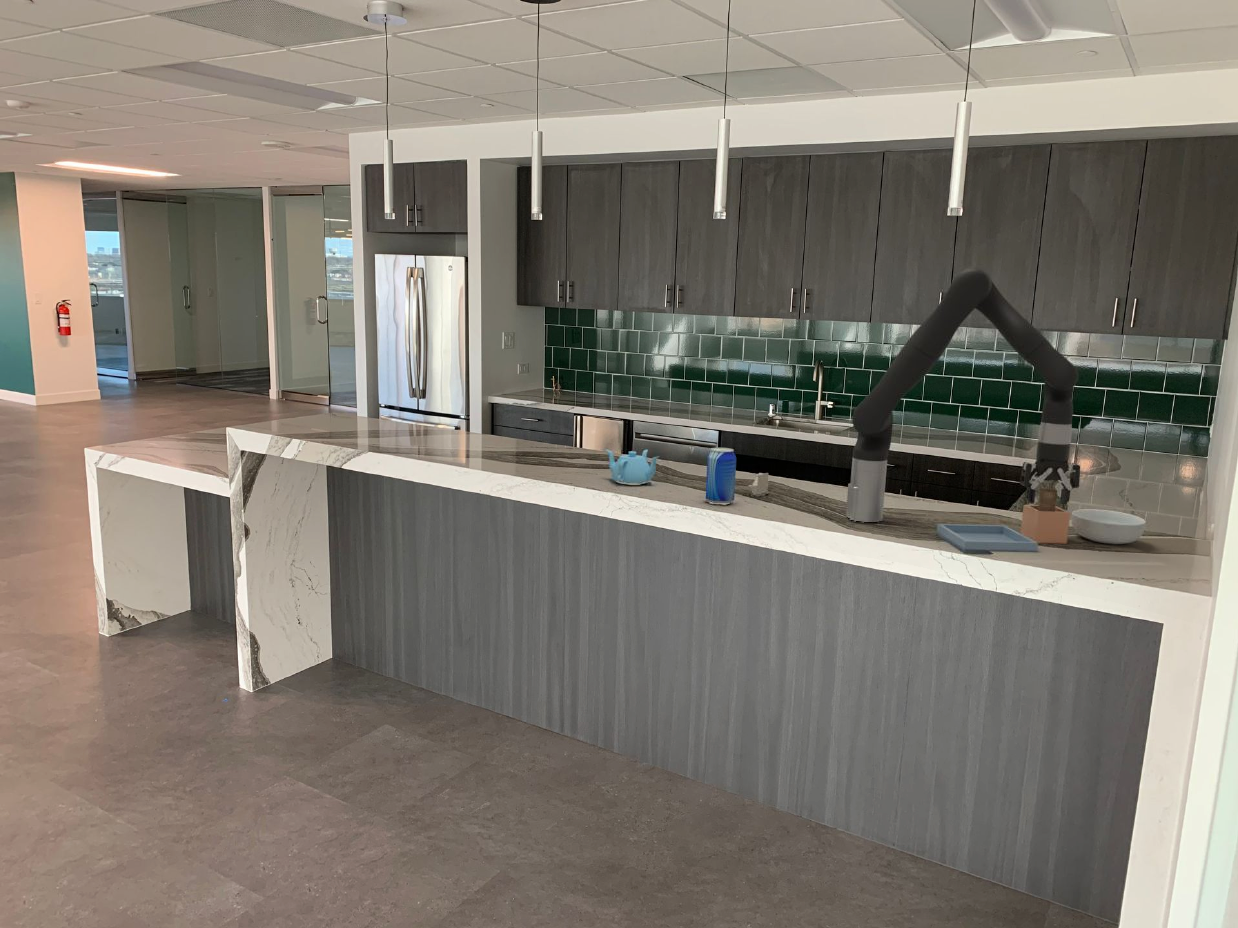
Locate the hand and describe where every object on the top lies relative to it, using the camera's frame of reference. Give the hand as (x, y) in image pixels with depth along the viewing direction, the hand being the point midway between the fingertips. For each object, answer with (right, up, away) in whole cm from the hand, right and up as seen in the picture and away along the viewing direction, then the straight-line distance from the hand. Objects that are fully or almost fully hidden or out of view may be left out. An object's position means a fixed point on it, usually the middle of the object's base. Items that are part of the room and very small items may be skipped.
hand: (1047, 503), depth 237 cm
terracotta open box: (0, -10, +2) cm, 10 cm away
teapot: (-105, +4, +64) cm, 123 cm away
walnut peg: (0, -9, +2) cm, 9 cm away
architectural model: (-66, 0, +49) cm, 82 cm away
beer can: (-80, -2, +37) cm, 88 cm away
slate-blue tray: (-17, -10, -3) cm, 20 cm away
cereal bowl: (+17, -11, +4) cm, 20 cm away
